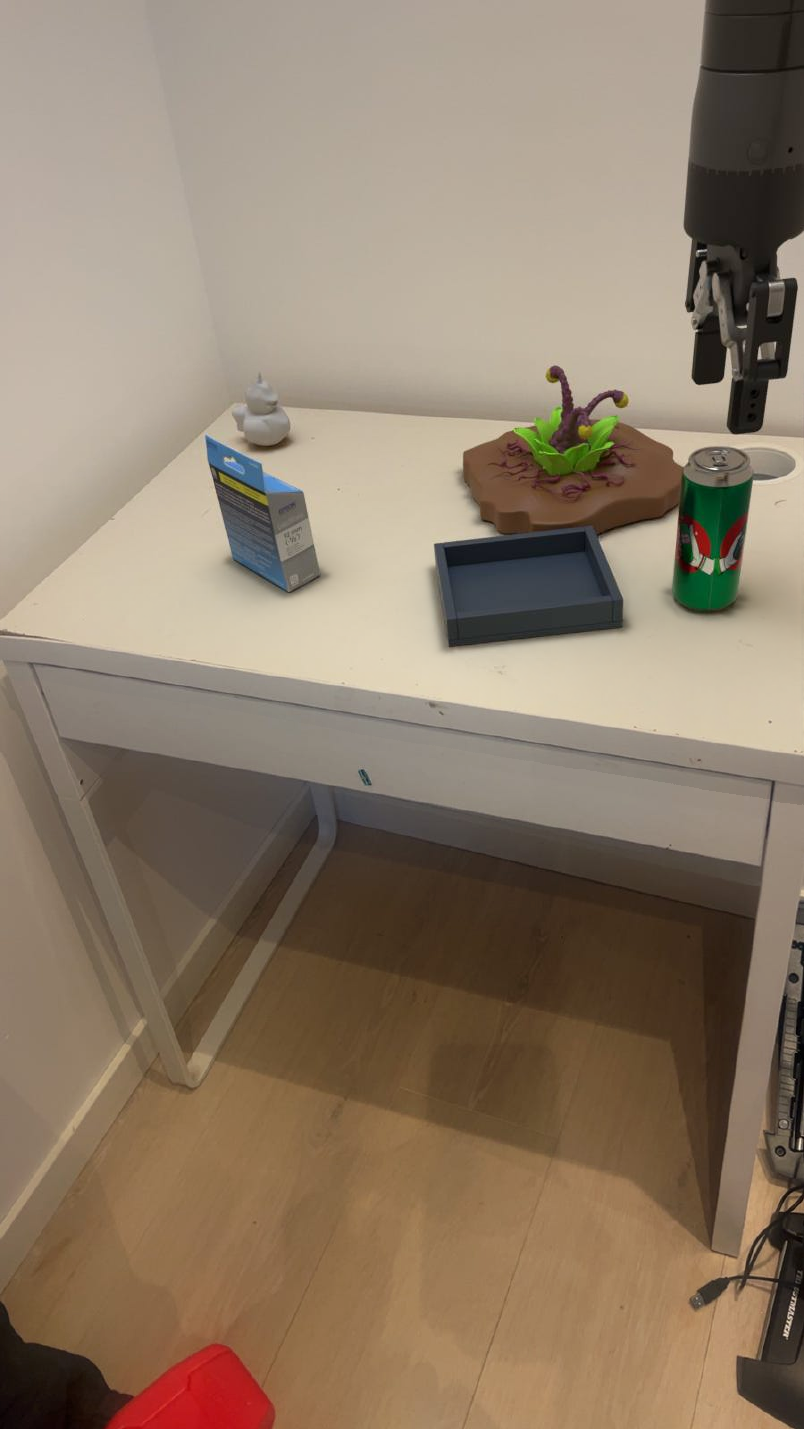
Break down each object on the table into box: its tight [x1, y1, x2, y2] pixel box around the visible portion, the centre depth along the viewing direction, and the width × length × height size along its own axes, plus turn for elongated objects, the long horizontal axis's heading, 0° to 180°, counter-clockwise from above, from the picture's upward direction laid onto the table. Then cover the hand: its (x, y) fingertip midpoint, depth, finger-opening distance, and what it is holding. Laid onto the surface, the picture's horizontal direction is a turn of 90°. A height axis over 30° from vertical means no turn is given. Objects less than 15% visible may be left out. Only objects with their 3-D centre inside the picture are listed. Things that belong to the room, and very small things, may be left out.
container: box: [433, 526, 624, 647], centre depth 85 cm, size 14×12×3 cm
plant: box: [462, 364, 685, 536], centre depth 96 cm, size 20×20×11 cm
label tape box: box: [204, 432, 321, 593], centre depth 89 cm, size 9×4×12 cm, turn 41°
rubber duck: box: [231, 371, 291, 447], centre depth 111 cm, size 5×7×8 cm
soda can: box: [671, 445, 755, 613], centre depth 79 cm, size 5×5×12 cm
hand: (724, 405), depth 73 cm, fingers open, 8 cm apart
